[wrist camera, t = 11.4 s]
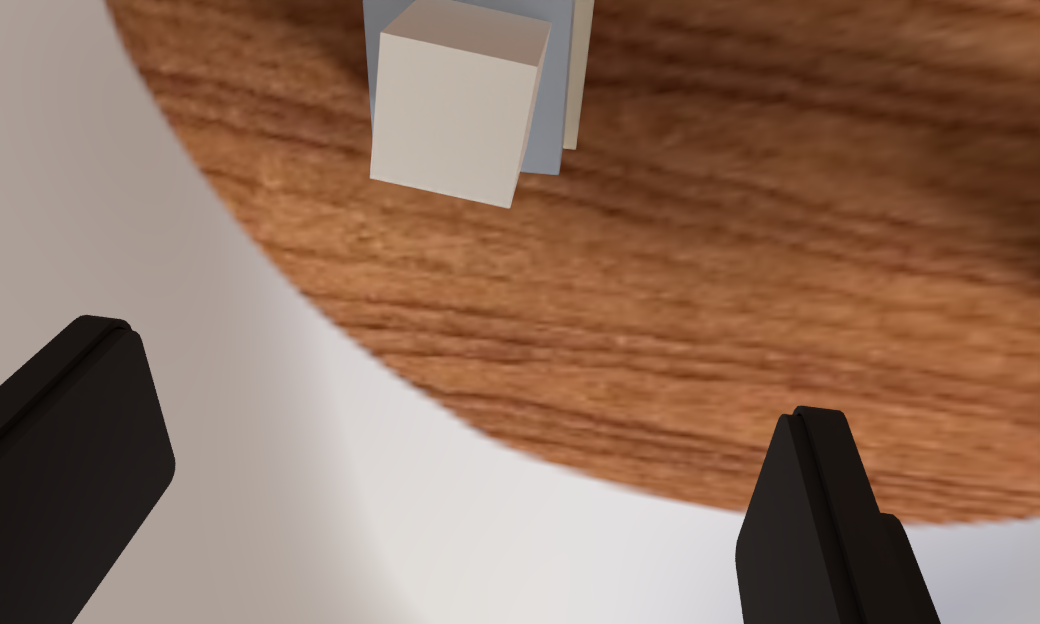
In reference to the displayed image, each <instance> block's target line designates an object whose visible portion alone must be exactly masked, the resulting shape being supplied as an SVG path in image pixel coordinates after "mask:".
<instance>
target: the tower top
mask: <svg viewBox="0 0 1040 624" xmlns="http://www.w3.org/2000/svg"><path fill="white" fill-rule="evenodd" d="M414 1H415V0H363V10H364V24H365V38H366V52H367V66H368V80H369V94H370V108H371V122H372V136H373V128H374V115H375V101H376V88H377V74H378V60H379V47H380V33H381V31H382V30H384V29H385V28H386V27H387V26H388V25H389V24H390V23H391V22H392V21H393V20H394V19H396V18H397V17H398V16H399V15H400V14H401V13H402V12H403V11H404V10H405V9H406V8H408V7H409V6H410V5H411V4H412V3H413V2H414ZM453 1H458V2H462V3H467V4H471V5H476V6H480V7H485V8H489V9H494V10H498V11H503V12H507V13H512V14H516V15H521V16H525V17H530V18H534V19H539V20H543V21H548V22H552V24H551V29H550V34H549V39H548V44H547V49H546V54H545V59H544V64H543V69H542V73H541V78H540V83H539V88H538V93H537V98H536V103H535V108H534V113H533V118H532V123H531V128H530V133H529V138H528V143H527V147H526V151H525V155H524V158H523V162H522V166H521V169H520V172H528V173H539V174H551V175H559V170H560V164H561V157H562V151H563V144H564V136H565V123H566V111H567V99H568V86H569V74H570V62H571V49H572V37H573V25H574V12H575V0H453Z"/></svg>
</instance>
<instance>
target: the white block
mask: <svg viewBox="0 0 1040 624" xmlns="http://www.w3.org/2000/svg"><path fill="white" fill-rule="evenodd" d="M551 24H552V22H548V21H543V20H539V19H534V18H530V17H525V16H521V15H516V14H512V13H507V12H503V11H498V10H494V9H489V8H485V7H480V6H476V5H471V4H467V3H462V2H458V1H453V0H415V1H414V2H413V3H412V4H411V5H410V6H409V7H408V8H406V9H405V10H404V11H403V12H402V13H401V14H400V15H399V16H398V17H397V18H396V19H394V20H393V21H392V22H391V23H390V24H389V25H388V26H387V27H386V28H385V29H384V30H382V31H381V33H380V47H379V60H378V74H377V88H376V101H375V115H374V128H373V142H372V156H371V169H370V178H371V179H376V180H381V181H385V182H390V183H394V184H399V185H404V186H408V187H413V188H417V189H422V190H426V191H431V192H436V193H440V194H445V195H449V196H454V197H459V198H463V199H468V200H472V201H477V202H482V203H486V204H491V205H495V206H500V207H504V208H509V209H510V206H511V203H512V199H513V195H514V191H515V188H516V184H517V180H518V177H519V173H520V169H521V166H522V162H523V158H524V155H525V151H526V147H527V143H528V138H529V133H530V128H531V123H532V118H533V113H534V108H535V103H536V98H537V93H538V88H539V83H540V78H541V73H542V69H543V64H544V59H545V54H546V49H547V44H548V39H549V34H550V29H551Z"/></svg>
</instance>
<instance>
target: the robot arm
mask: <svg viewBox="0 0 1040 624" xmlns="http://www.w3.org/2000/svg"><path fill="white" fill-rule="evenodd" d="M174 472H175V457H174V454H173V450H172V447H171V443H170V440H169V436H168V433H167V429H166V426H165V422H164V418H163V414H162V411H161V407H160V404H159V400H158V397H157V393H156V389H155V386H154V382H153V379H152V375H151V372H150V368H149V364H148V361H147V357H146V354H145V350H144V347H143V343H142V340H141V337H140V335H139V334H138V333H137V332H136V331H132V329H131V326H130V325H129V324H128V323H127V322H126V321H125V320H121V319H115V318H107V317H99V316H91V315H83V316H80V317H79V318H76V319H75V320H74V321H73V322H72V323H70V324H69V325H68V326H67V327H66V328H65V329H64V330H62V331H61V332H60V333H59V334H58V335H57V336H56V337H55V338H53V339H52V340H51V341H50V342H49V343H48V344H47V345H46V346H44V347H43V348H42V349H41V350H40V351H39V352H38V353H36V354H35V355H34V356H33V357H32V358H31V359H30V360H29V361H27V362H26V363H25V364H24V365H23V366H22V367H21V368H20V369H19V370H17V371H16V372H15V373H14V374H13V375H12V376H11V377H9V378H8V379H7V380H6V381H5V382H4V383H3V384H2V385H0V624H72V623H73V622H74V620H75V619H76V617H77V616H78V614H79V613H80V611H81V610H82V609H83V607H84V606H85V604H86V603H87V602H88V600H89V599H90V597H91V596H92V594H93V593H94V592H95V590H96V589H97V587H98V586H99V584H100V583H101V582H102V580H103V579H104V577H105V576H106V574H107V573H108V572H109V570H110V569H111V567H112V566H113V564H114V563H115V561H116V560H117V559H118V557H119V556H120V554H121V553H122V551H123V550H124V549H125V547H126V546H127V544H128V543H129V542H130V540H131V539H132V537H133V536H134V535H135V533H136V532H137V530H138V529H139V527H140V526H141V525H142V523H143V521H144V520H145V519H146V517H147V516H148V514H149V513H150V512H151V510H152V509H153V507H154V506H155V504H156V503H157V502H158V500H159V499H160V497H161V496H162V495H163V493H164V492H165V490H166V489H167V487H168V486H169V484H170V483H171V481H172V478H173V476H174ZM735 557H736V558H735V562H736V571H737V578H738V585H739V592H740V599H741V606H742V614H743V620H744V624H941V623H940V620H939V618H938V615H937V612H936V610H935V607H934V604H933V602H932V599H931V597H930V594H929V592H928V589H927V586H926V584H925V581H924V579H923V576H922V574H921V571H920V568H919V566H918V563H917V561H916V558H915V555H914V553H913V550H912V548H911V545H910V543H909V540H908V537H907V535H906V532H905V530H904V528H903V526H902V524H901V522H900V520H899V519H897V518H896V517H895V516H894V515H893V514H886V513H880V511H879V508H878V505H877V503H876V500H875V497H874V494H873V491H872V489H871V486H870V483H869V480H868V478H867V475H866V472H865V469H864V467H863V464H862V461H861V458H860V455H859V453H858V450H857V447H856V444H855V442H854V439H853V436H852V433H851V430H850V428H849V425H848V422H847V419H846V417H845V415H844V413H843V412H841V411H839V410H832V409H824V408H816V407H808V406H797V408H796V409H795V410H794V412H793V414H792V415H788V414H782V415H781V416H780V417H779V420H778V422H777V425H776V428H775V431H774V434H773V437H772V440H771V443H770V446H769V448H768V451H767V454H766V457H765V460H764V463H763V466H762V469H761V472H760V475H759V478H758V481H757V484H756V487H755V489H754V492H753V495H752V498H751V501H750V504H749V507H748V510H747V513H746V516H745V519H744V522H743V525H742V528H741V530H740V534H739V536H738V540H737V545H736V554H735Z"/></svg>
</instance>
